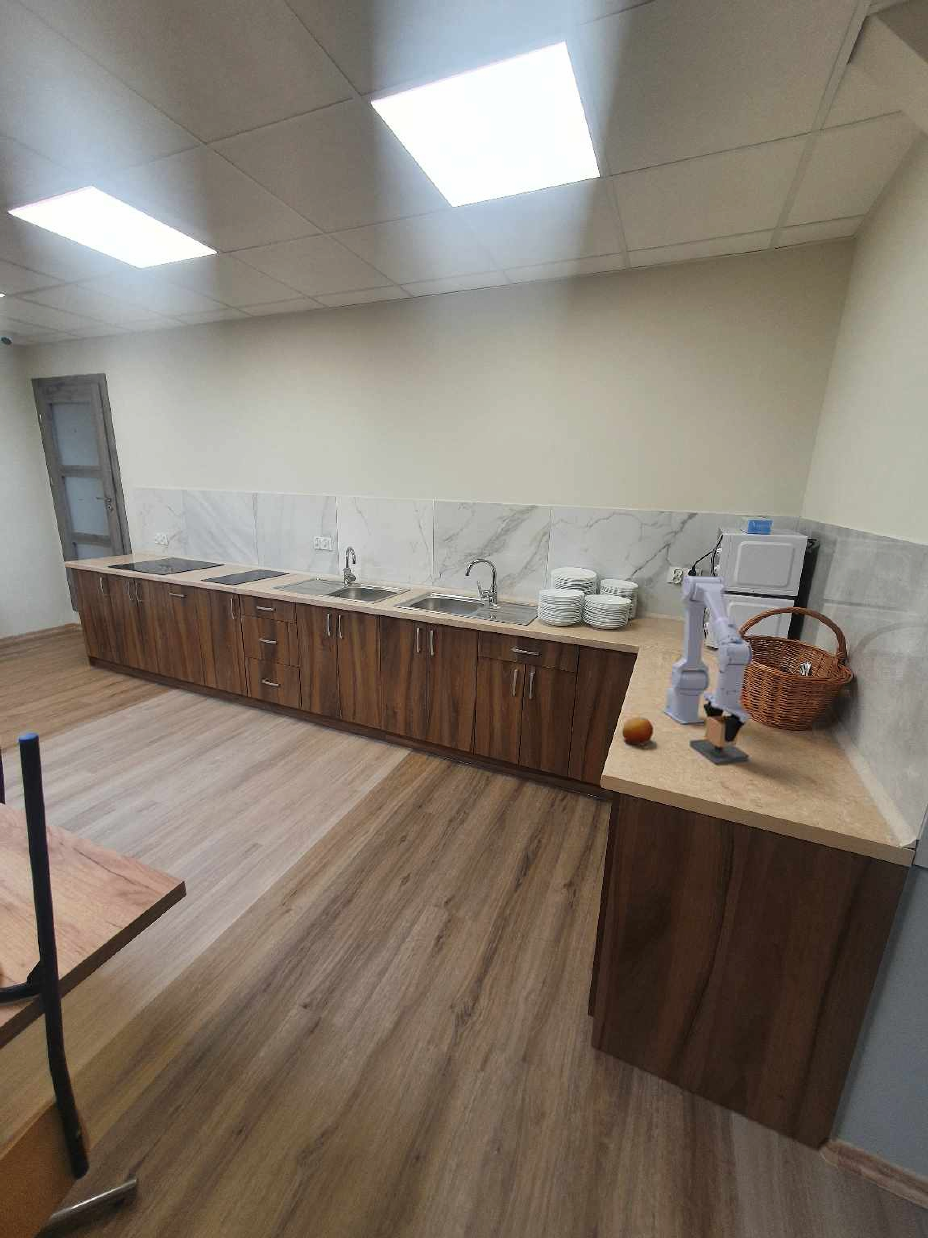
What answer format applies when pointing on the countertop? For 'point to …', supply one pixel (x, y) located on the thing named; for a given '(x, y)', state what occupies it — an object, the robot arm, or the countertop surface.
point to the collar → (717, 731)
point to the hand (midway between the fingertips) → (721, 735)
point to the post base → (718, 752)
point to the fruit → (638, 731)
